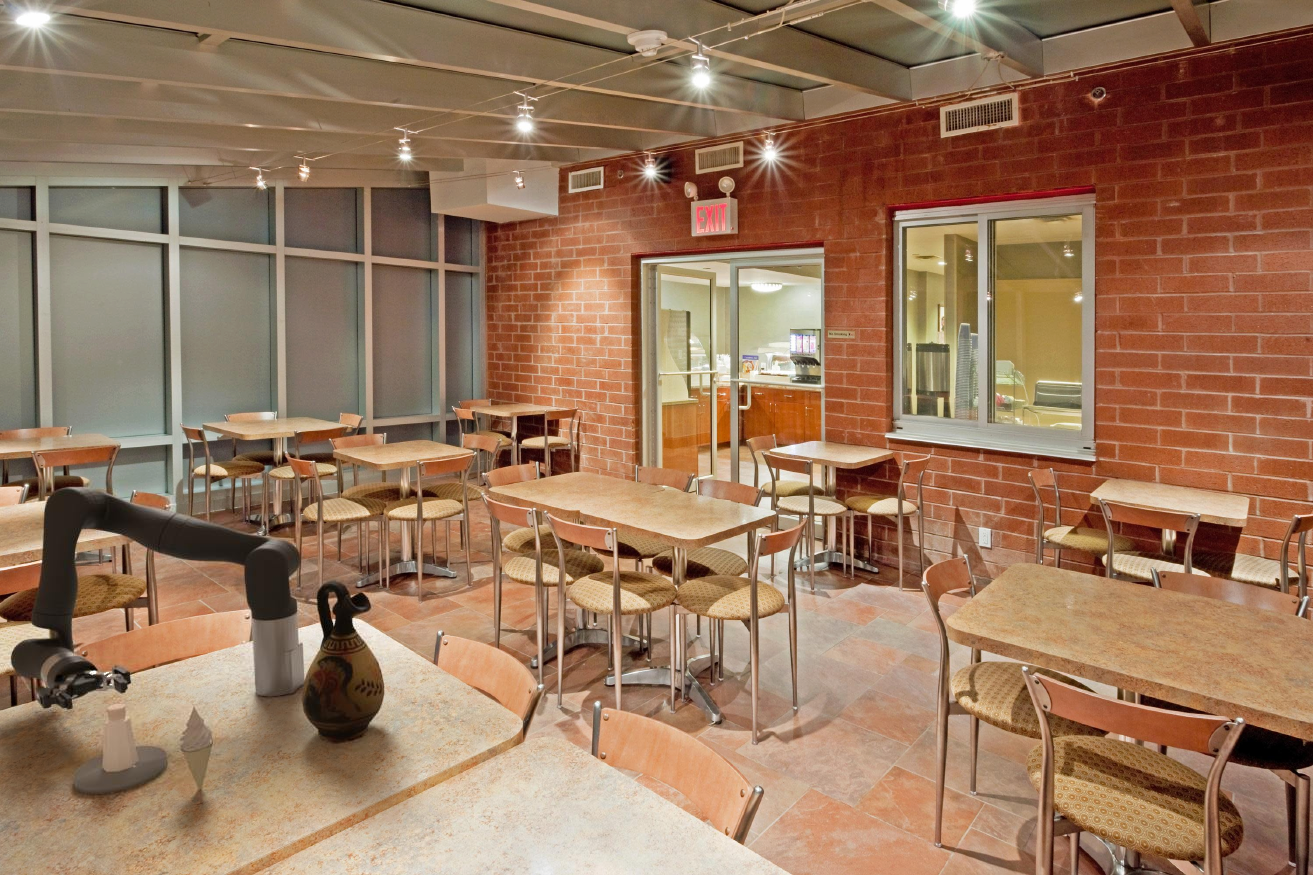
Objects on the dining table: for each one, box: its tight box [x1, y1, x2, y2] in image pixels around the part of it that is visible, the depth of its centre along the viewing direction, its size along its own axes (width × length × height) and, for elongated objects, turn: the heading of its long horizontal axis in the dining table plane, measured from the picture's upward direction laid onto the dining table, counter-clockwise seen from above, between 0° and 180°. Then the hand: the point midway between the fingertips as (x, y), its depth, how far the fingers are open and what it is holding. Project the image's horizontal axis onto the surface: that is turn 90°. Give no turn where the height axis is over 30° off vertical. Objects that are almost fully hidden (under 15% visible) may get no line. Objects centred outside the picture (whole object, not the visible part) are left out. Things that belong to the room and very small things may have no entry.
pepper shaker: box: [102, 703, 138, 772], centre depth 144 cm, size 5×5×11 cm
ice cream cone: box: [178, 706, 215, 791], centre depth 138 cm, size 5×5×15 cm
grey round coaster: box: [72, 745, 168, 795], centre depth 144 cm, size 14×14×2 cm
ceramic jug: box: [301, 580, 385, 744], centre depth 159 cm, size 17×16×30 cm
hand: (97, 695), depth 150 cm, fingers open, 8 cm apart
